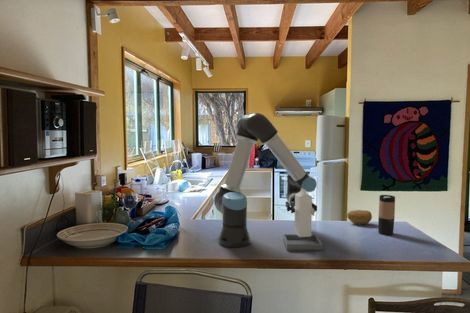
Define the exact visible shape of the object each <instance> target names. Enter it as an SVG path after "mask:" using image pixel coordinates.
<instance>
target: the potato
mask: <svg viewBox="0 0 470 313" xmlns="http://www.w3.org/2000/svg"><path fill="white" fill-rule="evenodd" d="M371 212H372V211H369V210H362V209H357V210H356V209H355V210H350V211H348V212H347V214H346V218H347V219H348V221H350V222H351V223H352V224H356V225H365V224H369V223H370V222H371V221H372V219H373V215H372V213H371Z"/></svg>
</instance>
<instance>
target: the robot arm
mask: <svg viewBox="0 0 470 313" xmlns="http://www.w3.org/2000/svg"><path fill="white" fill-rule="evenodd" d="M236 128H237V132H236V135H235V137H236V139H237V141H236V144H235V148H234V150H233V151H234V152H233V154H232V158H231V160H230V161H231V162H230V164H229V167H228V170H227V174H226V177H225V179H224V180H225V181H224V182H223V184H221V185H220V187H219V190H218V191H217V192H216V194H215V195H214V198H213V203H214V206H215V208H216V210H217V211H218V212H220V213H221V214H222V226H221V227H222V228H221V231H220V232H219V237H218V244H219V245H220V246H223V247H225V248H226V247H227V248H242V247H246V246H249V245H250V244H251V236H250V233H249V230H248V226H247V225H248V223H247V221H248V216H247V214H248V213H247V212H248V207H247V206H248V200H247V199H248V198H247V196H246V195H245V194H243V192H242V189H241V186H242V184H243V179H244V176H245V173H246V171H247V170H246V169H247V168H248V163H249V160H250V157H251V155H252V151H253V147H254V145H255V144H257V143H258V141H260V142H261V144H263V145H264V144H265V145H266V146H267V149H269V151H271V153H272V154H273V156H274V157H275V159H276V160H277V161H278V162H279V163H280V164H281V166H282V167H283V168H284V170H285V172H287V175H286V181H287V182H286V184H287V185H286V186H287V187H286V188H287V189H286V195H285V196H286V200H287V201H285V208H286V211H287V212H290V213H291V214H294V216H295V215H296V216H298V209H297V208H296V206H295V194H297V193H298V192H300V191H301V188H303V189H305V190H306V193H307V192H308V193H310V192H314V191H315V190H316V188H317V180H316V179H315V178H314V177H312V176H310V175H309V174H308V172H307V171H306V170H305V168H303V166H302V165H301V163H300V162H299V161H298V159H296V157H295V155H293V153H292V152H291V150H290V149H289V148H288V146H287V145H286V144H285V143H284V141H283V140H282V138H281V137H280V136H279V135H278V133H279V132H278V129H276V127H275V126H274V124H273V123H272V122H271V120H269V119H268V117H267V116H266V115H264V114H262V113H259V112H254V113H246V114H244V115H242V116H241V117H240V118H239V119H238V121H237V124H236ZM316 212H318V205H316V204H315V203H313V202H312V210H311V214H312V216H315V213H316Z"/></svg>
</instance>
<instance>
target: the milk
mask: <svg viewBox="0 0 470 313" xmlns="http://www.w3.org/2000/svg"><path fill="white" fill-rule="evenodd" d="M312 203H313V196H312V195H311V194H308V193H307V191H306V190H305V189H303V188H301V191H300V192H298V193H297V194H295V206H296V208H297V209H298V216H296V215H295V214H294V234H296V235H297V236H299V237H309V236H311V235H312V224H313V223H312V221H313V220H312V218H313V217H312V216H313V215H312V214H311V210H312Z"/></svg>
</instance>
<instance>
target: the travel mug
mask: <svg viewBox="0 0 470 313" xmlns="http://www.w3.org/2000/svg"><path fill="white" fill-rule="evenodd" d="M378 202H379V203H378V223H377V224H378V228H377V229H378V234H380V235H383V236H393V235H394V228H395V218H396V217H395V215H396V214H395V212H396V196H394V195H391V194H380V195H379V201H378Z"/></svg>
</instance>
